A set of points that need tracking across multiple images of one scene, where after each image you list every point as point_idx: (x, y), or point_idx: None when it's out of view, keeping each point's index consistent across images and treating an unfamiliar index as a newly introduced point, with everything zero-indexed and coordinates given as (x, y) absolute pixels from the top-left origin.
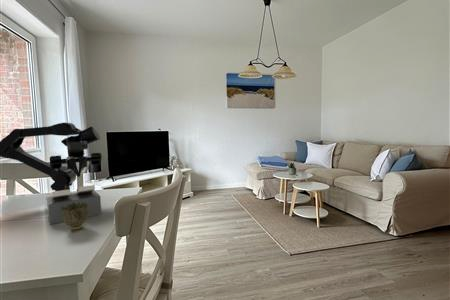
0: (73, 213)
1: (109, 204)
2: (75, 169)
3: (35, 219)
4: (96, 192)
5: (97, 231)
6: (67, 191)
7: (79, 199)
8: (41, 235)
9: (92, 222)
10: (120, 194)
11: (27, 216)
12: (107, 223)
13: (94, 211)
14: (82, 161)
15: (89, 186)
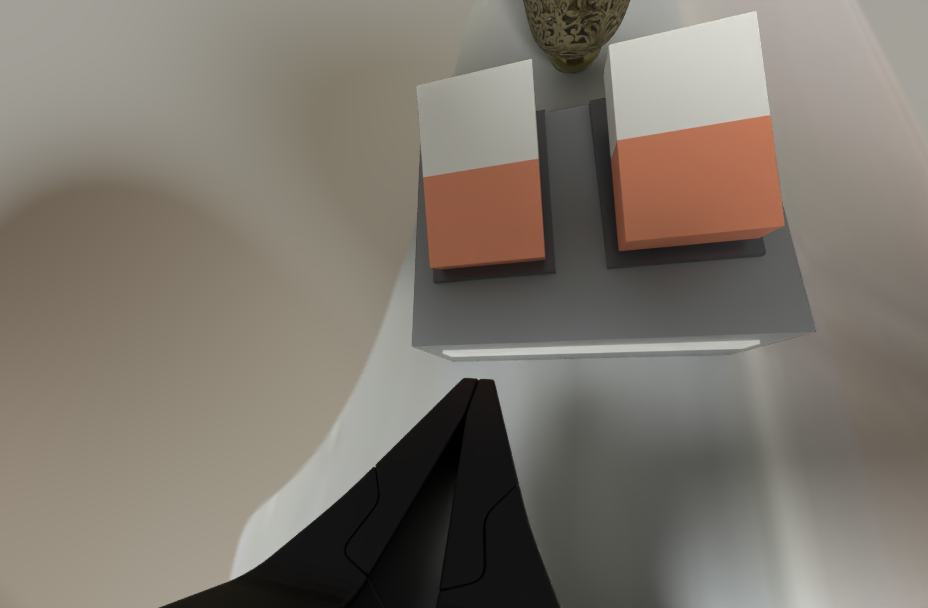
0: None
1: (380, 349)
2: (500, 465)
3: None
4: (416, 244)
5: (509, 16)
6: (625, 49)
7: (543, 114)
8: None
9: None
10: (252, 565)
11: (889, 427)
12: (462, 74)
13: None
14: (214, 606)
15: (455, 80)
